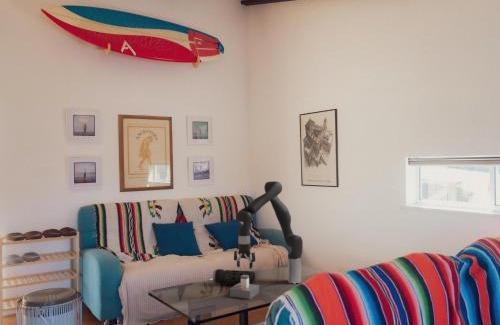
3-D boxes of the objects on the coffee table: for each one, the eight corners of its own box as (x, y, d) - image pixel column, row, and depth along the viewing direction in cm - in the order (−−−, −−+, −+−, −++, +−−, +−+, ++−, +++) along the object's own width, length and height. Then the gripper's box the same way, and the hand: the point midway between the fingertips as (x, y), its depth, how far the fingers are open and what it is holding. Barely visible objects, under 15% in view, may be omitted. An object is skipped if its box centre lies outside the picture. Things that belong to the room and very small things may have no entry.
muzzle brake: (252, 288, 292) (252, 272, 292) (212, 285, 298) (212, 270, 298) (255, 284, 301) (255, 269, 301) (216, 282, 307) (216, 267, 307)
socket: (239, 290, 288) (239, 281, 288) (259, 292, 282) (259, 283, 282) (229, 296, 275) (229, 287, 275) (249, 299, 269) (249, 289, 269)
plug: (243, 291, 281) (243, 274, 281) (249, 292, 279) (249, 275, 279) (240, 293, 277) (240, 276, 277) (246, 294, 276) (246, 276, 275)
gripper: (256, 242, 278) (257, 267, 278) (237, 240, 284) (237, 265, 285) (252, 244, 271) (252, 270, 272) (231, 242, 277) (232, 268, 278)
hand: (244, 267), depth 278 cm, fingers open, 8 cm apart
